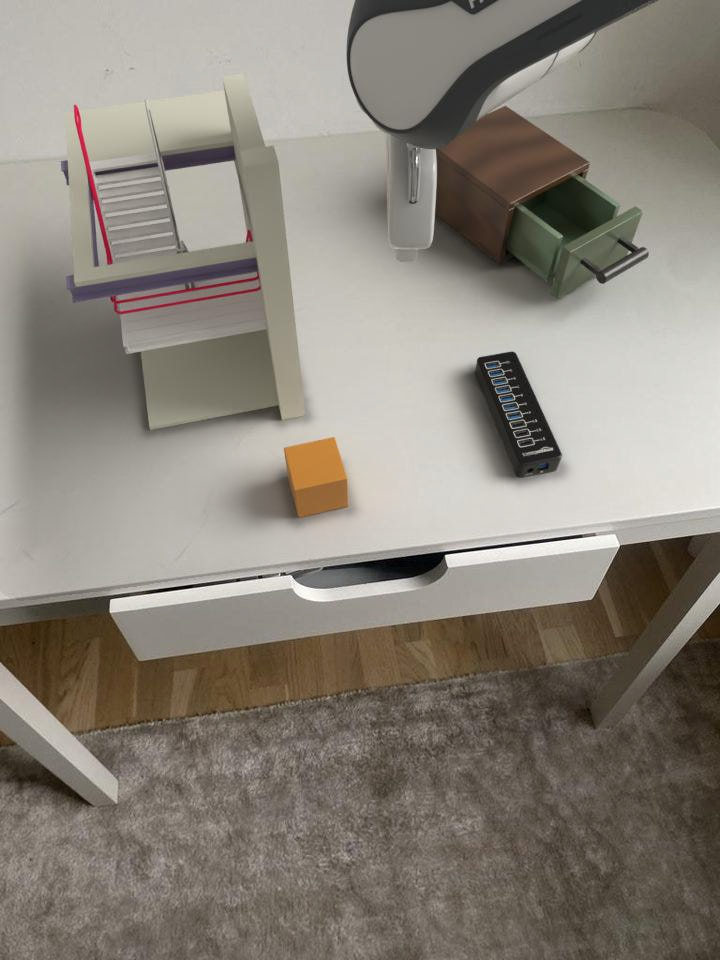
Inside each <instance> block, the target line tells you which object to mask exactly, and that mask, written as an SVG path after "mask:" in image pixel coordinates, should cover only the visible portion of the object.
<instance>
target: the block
mask: <svg viewBox="0 0 720 960" xmlns="http://www.w3.org/2000/svg"><path fill="white" fill-rule="evenodd" d="M283 453H284V459H285V466H286V471H287V472H286V473H287V479H288V482H289V486H290V491H291V494H292V498H293V502H294V506H295V511H296V512H297V513H296V514H297V518H303V517H307V516H313V515H317V514H321V513H325V512H330V511H334V510H338V509H343V508H348V507H349V488H348V487H349V485H348V484H349V483H348V475H347V473H346V470H345V466H344V463H343V460H342V456H341V453H340V450H339V447H338V443H337V439H336V437H335V436H331V437H328V438H322V439H318V440H314V441H310V442H309V441H308V442H304V443H300V444H294V445H290V446H286V447H283Z"/></svg>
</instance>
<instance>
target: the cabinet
mask: <svg viewBox="0 0 720 960" xmlns="http://www.w3.org/2000/svg"><path fill="white" fill-rule="evenodd" d="M436 159H437V188H436V206H435V215H437V216H438V217H439V218H440V219H442V220H443V221H444V222H446V223H447V224H448V225H449V226H450V227H452V228H453V230H455V231H457V232H458V233H459V234H461V236H463V237H464V238H465V239H466V240H467V241H469V242H470V243H471V244H473V246H475V247H476V248H477V249H479V250H480V251H481V252H482V253H484V254H485V255H486V256H487V257H488V258H489V259H491V260H492V261H493V262H495V263H496V264H497V265H501V264H503V263H504V262H506V261H508V260H510V259H512V258H513V257H515V256H514V255H513V254H511V253H510V252H509V251H508V250H506V248H507V242H508V237H509V232H510V227H511V222H512V217H513V212H514V207H516V206H518V205H520V204H522V203H523V202H525V201H527V200H529V199H531V198H533V197H535V196H537V195H539V194H541V193H543V192H545V191H547V190H549V189H550V188H552V187H554V186H556V185H558V184H560V183H562V182H564V181H566V180H568V179H570V178H572V177H574V176H576V175H577V174H578V175H579V176H581V177H582V178H583V179H585V180H587V176H588V172H589V168H590V165H591V162H590V161H589V160H587V159H586V158H585V157H583V156H581V155H580V154H578V153H577V152H575V151H573V149H571V148H570V147H568V146H566V145H565V144H563V143H562V142H560V141H559V140H558V139H556V138H554V137H553V136H552V135H550V134H549V133H547V132H546V131H544V130H543V129H541V128H540V127H538V126H536V125H535V124H534V123H532V122H530V120H528V119H527V118H525V117H524V116H522V115H520V114H519V113H517V112H516V111H514V110H513V109H511V108H510V107H508V106H507V105H504V106H501V107H498V109H497V108H496V109H494V110H492V111H491V112H489V113H488V114H486V115H485V116H483V117H482V118H480V119H479V120H477V121H476V122H475V123H474V124H473V125H472V126H471V127H470V128H469V129H467V130H466V131H465V132H463V133H462V134H460V135H459V136H458V137H456V138H455V139H454V140H452V141H451V142H450V143H448V144H447V145H445V146H444V147H441V148H438V149H436Z"/></svg>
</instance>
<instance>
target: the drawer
mask: <svg viewBox="0 0 720 960" xmlns="http://www.w3.org/2000/svg"><path fill="white" fill-rule="evenodd" d="M621 205H622V203H620V202H618V201H617V200H615V198H612V197H611V196H609V195H608V194H606V193H605V192H604V191H602V190H601V189H599V188H598V187H597V186H595V185H593V184H592V183H591V182H589V181H588V180H587V179H583V178H582V177H581V176H579V175H578V174H577V175H576V176H574V177H572V178H570V179H568V180H566V181H564V182H562V183H560V184H558V185H556V186H554V187H552V188H550V189H549V190H547V191H545V192H543V193H541V194H539V195H537V196H535V197H533V198H531V199H529V200H527V201H525V202H523V203H522V204H520V205H518V206H516V207H514V212H513V217H512V222H511V227H510V232H509V237H508V242H507V248H506V250H508V251H509V252H510V253H511V254H513V255H514V256H513V257H515V258H516V259H518V260H519V261H520V262H521V263H522V264H524V265H525V266H526V267H528V268H529V269H530V270H531V271H532V272H534V273H535V274H536V275H538V277H540V278H542V279H543V280H544V281H545V282H549V281H551V280H552V279H553V280H552V285H551V289H550V292H549V294H550V295H551V296H552V297H553V298H554V299H556V300H558V299H561V298H562V297H564V296H565V295H567V294H568V293H570V292H572V291H574V290H576V289H577V288H579V287H581V286H582V285H584V284H586V283H588V282H589V281H591V280H593V279H594V278H596V281H597V282H598V284H601V285H604V284H606V283H608V282H609V281H611V280H613V279H615V278H616V277H618V276H619V275H621V274H623V273H624V272H626V271H628V270H629V269H632V268H633V267H634V266H637V265H638V264H640V263H641V262H643V261H645V260H647V259H648V258H649V255H650V254H649V253H650V252H649V250H648V248H647V247H644V246H641V247H638V246H637V245H636V244H634V243H633V241H634V238H635V236H636V232H637V230H638V227H639V224H640V221H641V219H642V216H643V213H644V211H643V210H642V209H640V208H639V207H638V206H635V205H634V207H631V208H630V209H628V210H626V211H624V212H622V213H621V214H619V211H620V207H621ZM618 214H619V215H618ZM629 252H630V253H629Z"/></svg>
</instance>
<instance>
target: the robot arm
mask: <svg viewBox="0 0 720 960" xmlns="http://www.w3.org/2000/svg"><path fill="white" fill-rule="evenodd" d="M661 1H662V0H354V3H353V5H352V10H351V13H350V18H349V25H348V27H347V29H348V30H347V35H346V36H347V37H346V67H347V75H348V79H349V83H350V86H351V89H352V92H353V94H354V96H355V100H356V103H357V105H358V107H359V109H360V110H361V111H362V112H363V113H364V114H365V115H366V116H367V117H368V118H369V119H370V120H371V121H372V123H373V125H374V126H375V127H376V128H377V129H379V131H381V132H383V133H385V170H386V171H385V172H386V173H385V175H386V216H387V218H386V219H387V224H386V225H387V241H388V245H389V247H390V248H391V249H394V250H396V260H397V261H398V262H400V263H413V262H415V261H417V257H418V250H426V249H429V248H430V247H431V245H432V244H433V241H434V233H435V219H436V213H435V206H436V188H437V159H436V149H438V148H441V147H444V146H445V145H447V144H448V143H450V142H451V141H452V140H454V139H455V138H456V137H458V136H459V135H460V134H462V133H463V132H465V131H466V130H467V129H469V128H470V127H471V126H472V125H473V124H474V123H475V122H476V121H477V120H479V119H480V118H482V117H483V116H485V115H486V114H488V113H491V112H493V111H495V110H496V109H497V108H500V106H501V105H503V104H505V103H506V102H507V101H509V100H511V99H512V98H514V97H515V96H517V95H519V94H520V93H522V92H523V91H525V90H526V89H528V88H529V87H531V86H532V85H534V84H535V83H537V82H538V81H541V80H542V79H544V78H545V77H546V76H549V75H550V74H551V73H553V72H554V71H556V70H557V69H559V68H560V67H562V66H563V65H564V64H567V62H569V61H570V60H571V59H573V58H574V57H575V56H577V55H578V54H579V53H581V52H583V50H585V49H586V48H587V47H588V46H589V44H590V43H591V42H592V41H593V40H594V38H595V36H596V34H597V33H598V32H599V31H601V30H603V29H605V28H607V27H609V26H611V25H612V24H614V23H617V22H619V21H621V20H622V19H625V18H626V17H628V16H631V15H633V14H635V13H637V12H639V11H642V10H643V9H645V8H647V7H649V6H651V5H654V4H656V3H659V2H661Z"/></svg>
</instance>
